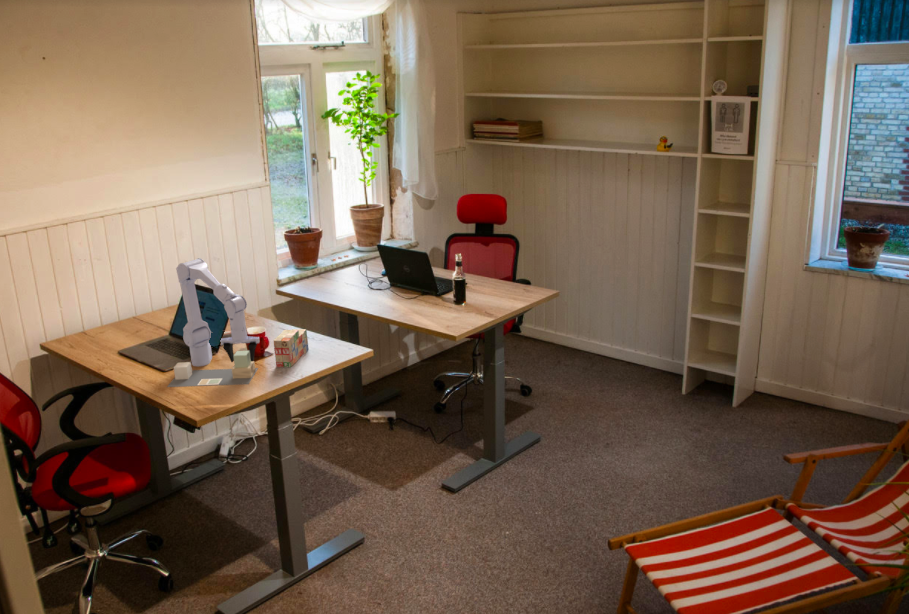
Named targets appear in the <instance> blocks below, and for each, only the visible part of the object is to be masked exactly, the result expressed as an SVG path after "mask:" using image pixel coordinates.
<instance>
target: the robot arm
mask: <svg viewBox="0 0 909 614" xmlns="http://www.w3.org/2000/svg"><path fill="white" fill-rule="evenodd" d="M175 269H176V273H177V278H178V282H179V285H180V290H181V295H182V300H183V303H184V309H185V310H184V311H185V315H186V319H187V323H186V324H185V326H184V327H183V328H182V331H183V336H182V338H183V341H184V343H185V345H186V346H187V347H189V353H190V359H191V366H193V367H204V366H208V365H209V364H211V361H212V359H213V353H212V347H211V345H210V343H209V340H210V338H211V333H212V331H211V329H210V327H209V323H208V322H206V321H204V320H203V318H202V313H201V309H200V304H199V299H198V294H197V289H196V284H195V282H196V281H197V280H201V281H202V282H203V283H205V284H206V285H207V286H208V287H209V288H210V289H212V290H213V295H214V297H216V299H218V301H220V302H221V303H222V304H223V305H224V306H223V308H224V310H225V312H226V314H227V317H228V320H229V327H230V330H231V335H232V337H229V338H221V340H220V342H221V345H223V344H224V345H223V350H224V351H225V352H226V354H227V355H228V356H227V357H228V358H229V359H230V362H231V363H234V357H233V356H234V354H235V353H234V348H233V347H234V346H233V344H235V345H237V344H248V345H247V347H248V351H250V359H251V362H252V361H254V360H255V353H256V348H257V346H258V344H260V336H250V335H249V336H248V333H247V332H248V331H247V323H246V317H245V316H246V315H245V310H246V308H247V306H248V304H247V301H246V299H245V297H244V296H243V295H241V294H238V293H235V292H234V291H233V290H232V289H231V288H230V287H228V285H227V284H225V283H221V282H219V281H218V280H217V278H216V277H215V276H214V274H213V273H212V272H211V271H210V270H209V265H208V264H207V262H206V261H205V260H204V259H203V258H201V257H199V258H196V259H192V260H189V261H185V262H180V263H179V264H178V265H177V267H176V268H175Z"/></svg>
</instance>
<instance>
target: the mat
mask: <svg viewBox="0 0 909 614" xmlns="http://www.w3.org/2000/svg"><path fill="white" fill-rule="evenodd" d="M258 370H259V367H255V372H254V374H253V376H252V377H251V378H235V379H233V375H232V368H221V369H220V368H215V369H213V368H211V369H195V370H194V369H192V375H191V376H190V378H189V379H177V380H175V377H173V379H172V380H171V381H170V382H169V383H168V385H167V386H166V388H179V387H198V386H197V385H198V383H199V382H200V381H201V379H220V378H222V381H221V382H220V383H219V385H218V386H236V385H238V386H239V385H243V386H244V385H250V383H251V382H252V380H253V378H254V376H255V375H256V373H257V372H258ZM205 386H206V387H208V386H210V387H211V386H212V387H213V386H215V385H205ZM205 386H204V387H205Z"/></svg>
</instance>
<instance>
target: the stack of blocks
mask: <svg viewBox="0 0 909 614" xmlns="http://www.w3.org/2000/svg"><path fill="white" fill-rule="evenodd" d="M308 340H309V339H308V333H307V329H302V328H300V329H299V328H296V329H295V328H294V329H292V328H291V329H283V330H282V331H281V333H280V334H279V335H278V336H277V337H275V338H274V339H273V347H274V348H273V349H274V351H273V352H274V357H275V367H277V368H280V367H281V368H292V367H293V366H294V364H295V363H297V361H299V359H300V358H301V357H302V356H303V355H305V354H306V353H307V352H308V351H309V341H308Z"/></svg>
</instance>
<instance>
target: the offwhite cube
mask: <svg viewBox="0 0 909 614" xmlns="http://www.w3.org/2000/svg"><path fill="white" fill-rule="evenodd" d="M192 370H193V368H192V361H191V362H189V361H186V362H185V361H184V362H177V363H176V364H175V365H174V366H173V372H174V378H175V380H177V379H189V378H190V376H191V375H192Z"/></svg>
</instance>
